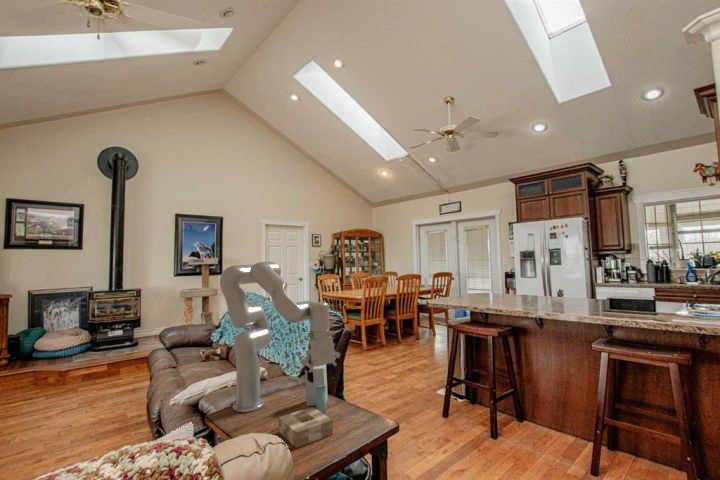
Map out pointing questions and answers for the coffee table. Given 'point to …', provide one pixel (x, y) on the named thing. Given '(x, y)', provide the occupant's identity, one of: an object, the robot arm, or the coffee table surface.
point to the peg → (321, 398)
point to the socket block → (305, 426)
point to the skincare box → (315, 384)
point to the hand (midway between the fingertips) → (321, 379)
